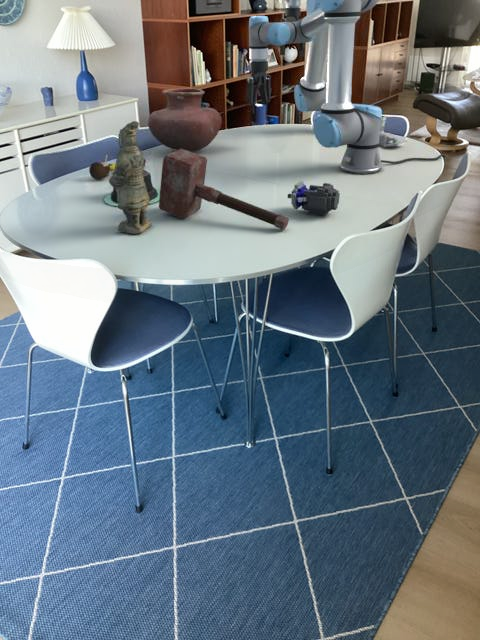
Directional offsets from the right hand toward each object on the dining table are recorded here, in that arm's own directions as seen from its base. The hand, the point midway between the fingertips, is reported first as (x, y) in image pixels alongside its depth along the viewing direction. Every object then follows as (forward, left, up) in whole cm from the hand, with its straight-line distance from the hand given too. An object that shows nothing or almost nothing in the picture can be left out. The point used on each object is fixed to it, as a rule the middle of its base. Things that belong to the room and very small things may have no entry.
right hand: (258, 120), depth 234 cm
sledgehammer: (+11, +86, -13) cm, 88 cm away
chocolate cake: (+42, +63, -13) cm, 77 cm away
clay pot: (+31, 0, -13) cm, 34 cm away
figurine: (+54, +33, -13) cm, 65 cm away
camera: (-56, -5, -13) cm, 57 cm away
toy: (-16, +80, -13) cm, 83 cm away
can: (0, 0, -1) cm, 1 cm away
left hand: (-17, -63, +19) cm, 68 cm away
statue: (+37, +92, -13) cm, 100 cm away
